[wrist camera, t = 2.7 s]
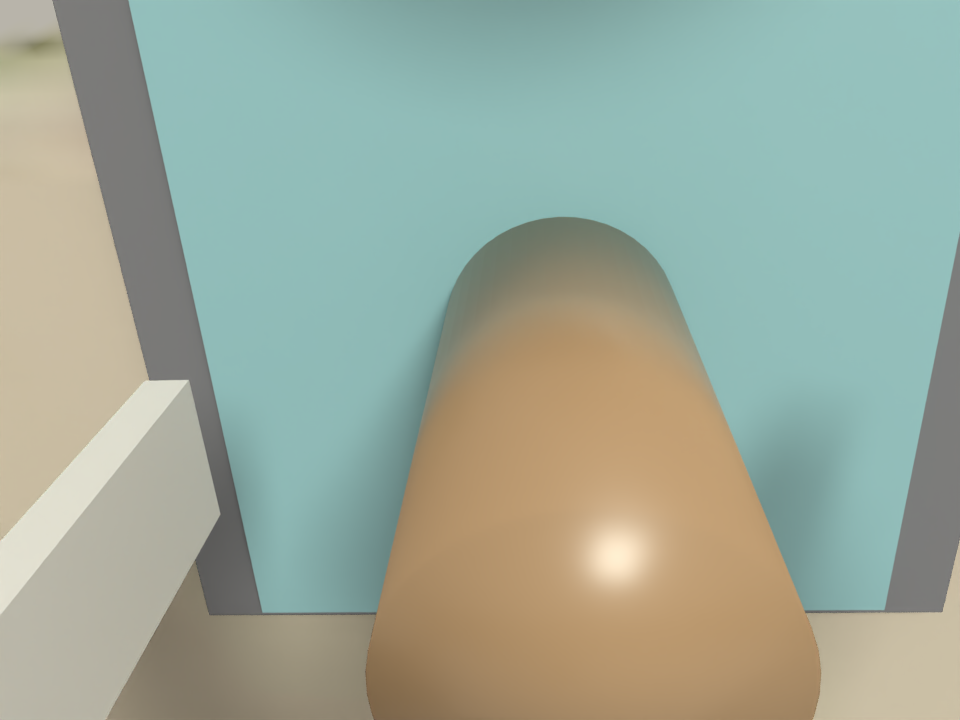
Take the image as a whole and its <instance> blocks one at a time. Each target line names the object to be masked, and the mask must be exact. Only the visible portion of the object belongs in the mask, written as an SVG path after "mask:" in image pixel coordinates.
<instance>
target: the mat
mask: <svg viewBox="0 0 960 720" xmlns="http://www.w3.org/2000/svg"><path fill="white" fill-rule="evenodd" d="M53 4H54V8H55V12H56V16H57V20H58V24H59V28H60V32H61V36H62V40H63V44H64V47H65V51H66V55H67V59H68V63H69V67H70V71H71V75H72V79H73V83H74V87H75V91H76V94H77V98H78V102H79V106H80V110H81V114H82V118H83V122H84V126H85V130H86V134H87V138H88V141H89V145H90V149H91V153H92V157H93V161H94V165H95V169H96V173H97V177H98V181H99V185H100V188H101V192H102V196H103V200H104V204H105V208H106V212H107V216H108V220H109V224H110V228H111V232H112V236H113V239H114V243H115V247H116V251H117V255H118V259H119V263H120V267H121V271H122V275H123V279H124V283H125V286H126V290H127V294H128V298H129V302H130V306H131V310H132V314H133V318H134V322H135V326H136V330H137V333H138V337H139V341H140V345H141V349H142V353H143V357H144V361H145V365H146V369H147V373H148V377H149V380H150V381H158V380H189V382H190V386H191V391H192V395H193V399H194V403H195V408H196V412H197V416H198V421H199V425H200V429H201V433H202V438H203V442H204V446H205V450H206V455H207V459H208V463H209V467H210V472H211V476H212V480H213V485H214V489H215V493H216V497H217V502H218V506H219V510H220V516H219V518H218V520H217V521H216V523H215V525H214V527H213V529H212V530H211V532H210V534H209V536H208V538H207V539H206V541H205V543H204V545H203V546H202V548H201V550H200V552H199V554H198V555H197V557H196V559H195V561H196V565H197V569H198V572H199V576H200V580H201V584H202V588H203V592H204V596H205V600H206V604H207V608H208V612H209V615H363V614H377V612H314V613H262V608H261V604H260V599H259V594H258V590H257V585H256V581H255V576H254V572H253V567H252V562H251V558H250V553H249V549H248V544H247V540H246V535H245V531H244V526H243V521H242V517H241V512H240V508H239V503H238V499H237V494H236V489H235V485H234V480H233V476H232V471H231V467H230V462H229V457H228V453H227V448H226V444H225V439H224V435H223V430H222V426H221V421H220V416H219V412H218V407H217V403H216V398H215V394H214V389H213V384H212V380H211V375H210V371H209V366H208V362H207V357H206V352H205V348H204V343H203V339H202V334H201V330H200V325H199V321H198V316H197V311H196V307H195V302H194V298H193V293H192V289H191V284H190V279H189V275H188V270H187V266H186V261H185V257H184V252H183V247H182V243H181V238H180V234H179V229H178V225H177V220H176V216H175V211H174V206H173V202H172V197H171V193H170V188H169V184H168V179H167V174H166V170H165V165H164V161H163V156H162V152H161V147H160V142H159V138H158V133H157V129H156V124H155V120H154V115H153V111H152V106H151V101H150V97H149V92H148V88H147V83H146V79H145V74H144V69H143V65H142V60H141V56H140V51H139V47H138V42H137V37H136V33H135V28H134V24H133V19H132V15H131V10H130V6H129V1H128V0H53ZM959 540H960V234H959V239H958V244H957V249H956V254H955V259H954V264H953V269H952V274H951V279H950V284H949V289H948V294H947V299H946V304H945V309H944V314H943V319H942V324H941V329H940V334H939V339H938V344H937V349H936V354H935V359H934V364H933V369H932V374H931V379H930V384H929V389H928V394H927V399H926V404H925V409H924V414H923V419H922V424H921V429H920V434H919V439H918V444H917V449H916V454H915V459H914V464H913V469H912V474H911V479H910V484H909V489H908V494H907V499H906V504H905V509H904V514H903V519H902V524H901V529H900V534H899V540H898V545H897V550H896V555H895V560H894V565H893V570H892V575H891V580H890V585H889V590H888V595H887V600H886V605H885V610H804V611H805V613H854V612H942V611H943V607H944V603H945V599H946V594H947V590H948V586H949V582H950V578H951V573H952V569H953V565H954V561H955V557H956V553H957V548H958V544H959Z"/></svg>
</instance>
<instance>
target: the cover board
mask: <svg viewBox="0 0 960 720" xmlns="http://www.w3.org/2000/svg"><path fill="white" fill-rule="evenodd" d="M128 1H129V6H130V10H131V15H132V19H133V24H134V28H135V33H136V37H137V42H138V47H139V51H140V56H141V60H142V65H143V69H144V74H145V79H146V83H147V88H148V92H149V97H150V101H151V106H152V111H153V115H154V120H155V124H156V129H157V133H158V138H159V142H160V147H161V152H162V156H163V161H164V165H165V170H166V174H167V179H168V184H169V188H170V193H171V197H172V202H173V206H174V211H175V216H176V220H177V225H178V229H179V234H180V238H181V243H182V247H183V252H184V257H185V261H186V266H187V270H188V275H189V279H190V284H191V289H192V293H193V298H194V302H195V307H196V311H197V316H198V321H199V325H200V330H201V334H202V339H203V343H204V348H205V352H206V357H207V362H208V366H209V371H210V375H211V380H212V384H213V389H214V394H215V398H216V403H217V407H218V412H219V416H220V421H221V426H222V430H223V435H224V439H225V444H226V448H227V453H228V457H229V462H230V467H231V471H232V476H233V480H234V485H235V489H236V494H237V499H238V503H239V508H240V512H241V517H242V521H243V526H244V531H245V535H246V540H247V544H248V549H249V553H250V558H251V562H252V567H253V572H254V576H255V581H256V585H257V590H258V594H259V599H260V604H261V608H262V613H314V612H377V614H376V618H375V623H374V627H373V631H372V635H371V640H370V644H369V648H368V655H367V664H366V686H367V696H368V700H369V704H370V708H371V712H372V715H373V717H374V720H812V719H813V717H814V714H815V710H816V706H817V703H818V699H819V695H820V681H821V668H820V659H819V650H818V647H817V644H816V641H815V637H814V634H813V631H812V628H811V625H810V623H809V620H808V618H807V615H806V613H805V611H804V610H885V605H886V600H887V595H888V590H889V585H890V580H891V575H892V570H893V565H894V560H895V555H896V550H897V545H898V540H899V534H900V529H901V524H902V519H903V514H904V509H905V504H906V499H907V494H908V489H909V484H910V479H911V474H912V469H913V464H914V459H915V454H916V449H917V444H918V439H919V434H920V429H921V424H922V419H923V414H924V409H925V404H926V399H927V394H928V389H929V384H930V379H931V374H932V369H933V364H934V359H935V354H936V349H937V344H938V339H939V334H940V329H941V324H942V319H943V314H944V309H945V304H946V299H947V294H948V289H949V284H950V279H951V274H952V269H953V264H954V259H955V254H956V249H957V244H958V239H959V234H960V0H128Z"/></svg>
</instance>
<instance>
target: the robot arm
mask: <svg viewBox="0 0 960 720" xmlns="http://www.w3.org/2000/svg"><path fill="white" fill-rule="evenodd" d="M219 516H220V510H219V506H218V502H217V497H216V493H215V489H214V485H213V480H212V476H211V472H210V467H209V463H208V459H207V455H206V450H205V446H204V442H203V438H202V433H201V429H200V425H199V421H198V416H197V412H196V408H195V403H194V399H193V395H192V391H191V386H190V382H189V380H158V381H144V382H143V383H142V384H141V386H140V387H139V388H138V389H137V390H136V391H135V392H134V393H133V394H132V396H131V397H130V398H129V399H128V400H127V401H126V402H125V403H124V404H123V406H122V407H121V408H120V409H119V410H118V411H117V412H116V413H115V414H114V416H113V417H112V418H111V419H110V420H109V421H108V422H107V423H106V424H105V426H104V427H103V428H102V429H101V430H100V431H99V432H98V433H97V434H96V436H95V437H94V438H93V439H92V440H91V441H90V442H89V443H88V444H87V446H86V447H85V448H84V449H83V450H82V451H81V452H80V453H79V454H78V456H77V457H76V458H75V459H74V460H73V461H72V462H71V463H70V464H69V466H68V467H67V468H66V469H65V470H64V471H63V472H62V473H61V474H60V476H59V477H58V478H57V479H56V480H55V481H54V482H53V483H52V484H51V486H50V487H49V488H48V489H47V490H46V491H45V492H44V493H43V494H42V496H41V497H40V498H39V499H38V500H37V501H36V502H35V503H34V504H33V506H32V507H31V508H30V509H29V510H28V511H27V512H26V513H25V514H24V516H23V517H22V518H21V519H20V520H19V521H18V522H17V523H16V524H15V526H14V527H13V528H12V529H11V530H10V531H9V532H8V533H7V534H6V536H5V537H4V538H3V539H2V540H1V541H0V720H106V718H107V716H108V715H109V713H110V711H111V709H112V707H113V706H114V704H115V702H116V700H117V698H118V697H119V695H120V693H121V691H122V690H123V688H124V686H125V684H126V682H127V681H128V679H129V677H130V675H131V673H132V672H133V670H134V668H135V666H136V665H137V663H138V661H139V659H140V657H141V656H142V654H143V652H144V650H145V648H146V647H147V645H148V643H149V641H150V639H151V638H152V636H153V634H154V632H155V631H156V629H157V627H158V625H159V623H160V622H161V620H162V618H163V616H164V614H165V613H166V611H167V609H168V607H169V605H170V604H171V602H172V600H173V598H174V597H175V595H176V593H177V591H178V589H179V588H180V586H181V584H182V582H183V580H184V579H185V577H186V575H187V573H188V572H189V570H190V568H191V566H192V564H193V563H194V561H195V559H196V557H197V555H198V554H199V552H200V550H201V548H202V546H203V545H204V543H205V541H206V539H207V538H208V536H209V534H210V532H211V530H212V529H213V527H214V525H215V523H216V521H217V520H218V518H219Z"/></svg>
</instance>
